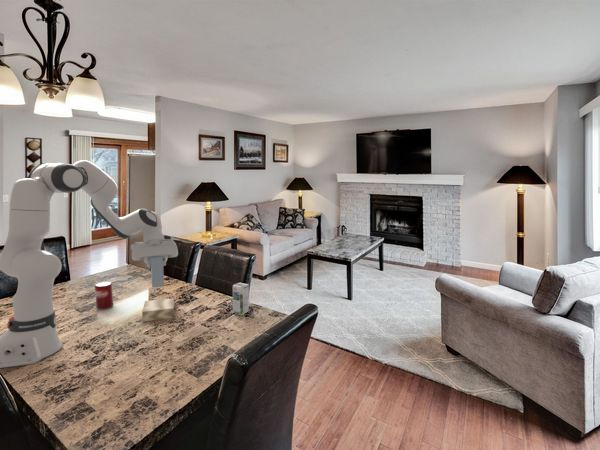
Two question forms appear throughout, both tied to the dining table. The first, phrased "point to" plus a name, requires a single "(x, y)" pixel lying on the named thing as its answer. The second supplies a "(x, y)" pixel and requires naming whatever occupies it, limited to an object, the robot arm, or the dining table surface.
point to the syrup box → (240, 298)
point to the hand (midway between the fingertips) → (156, 265)
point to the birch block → (158, 309)
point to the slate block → (157, 271)
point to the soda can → (103, 295)
